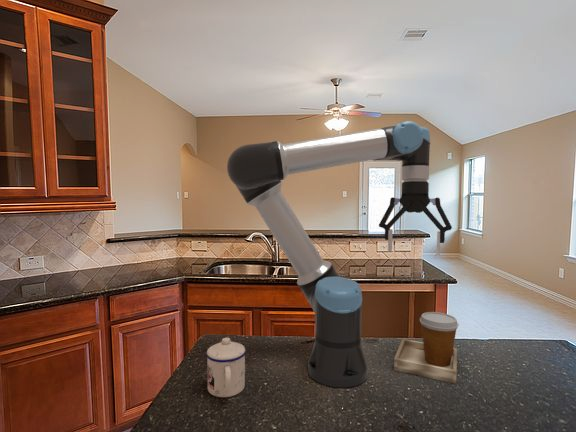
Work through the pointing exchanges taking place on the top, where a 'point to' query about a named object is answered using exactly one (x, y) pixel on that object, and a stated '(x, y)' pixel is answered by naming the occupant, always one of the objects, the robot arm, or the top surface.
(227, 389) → the teacup with lid
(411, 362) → the birch tray
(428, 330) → the disposable coffee cup
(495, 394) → the top surface
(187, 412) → the top surface
